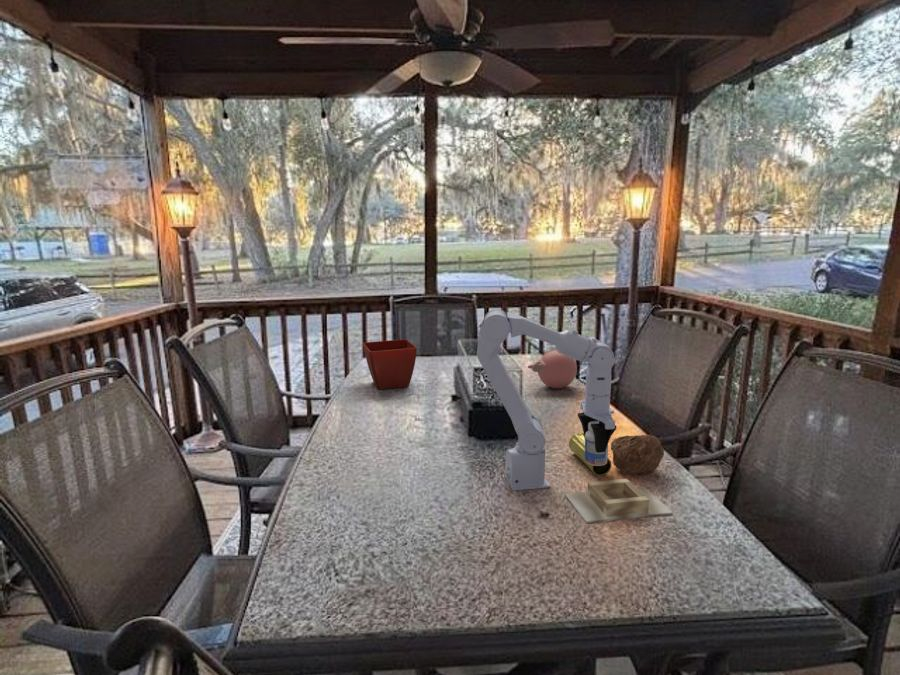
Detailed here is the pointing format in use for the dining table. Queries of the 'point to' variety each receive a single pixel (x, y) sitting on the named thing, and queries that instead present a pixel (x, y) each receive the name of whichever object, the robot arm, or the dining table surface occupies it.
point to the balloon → (555, 369)
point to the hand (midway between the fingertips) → (595, 446)
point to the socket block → (615, 502)
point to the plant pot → (390, 362)
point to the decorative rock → (637, 453)
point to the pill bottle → (590, 450)
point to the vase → (579, 449)
